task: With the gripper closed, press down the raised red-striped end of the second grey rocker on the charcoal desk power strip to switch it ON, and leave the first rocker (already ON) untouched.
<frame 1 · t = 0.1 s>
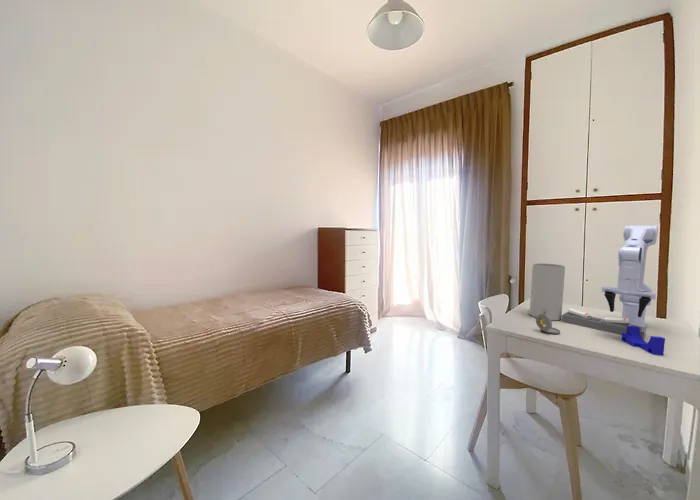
hand: (625, 313, 107), 10 cm above the table, tool pointing down, fingers open, 7 cm apart
cable clip: (640, 348, 101), on the table
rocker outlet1: (578, 313, 126), point 4 cm above the table, hinge at -10.0°
pocket watch: (547, 332, 115), on the table
cylinder vase: (544, 317, 135), on the table
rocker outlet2: (616, 321, 117), point 4 cm above the table, hinge at 10.0°
power strip: (601, 327, 121), on the table
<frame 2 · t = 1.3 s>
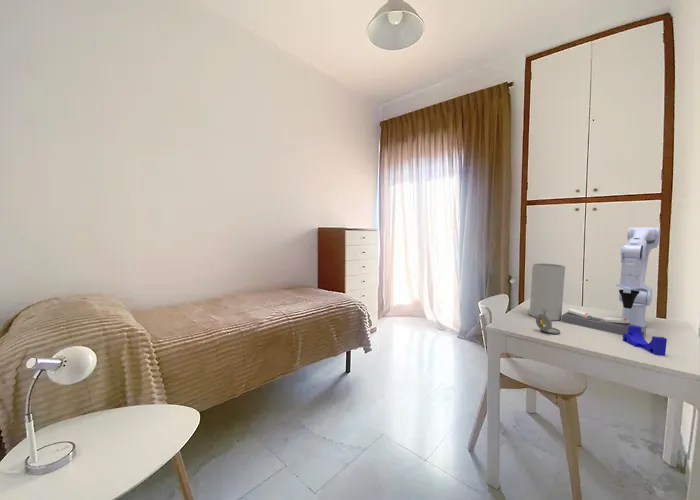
hand: (627, 308, 114), 10 cm above the table, tool pointing down, fingers closed
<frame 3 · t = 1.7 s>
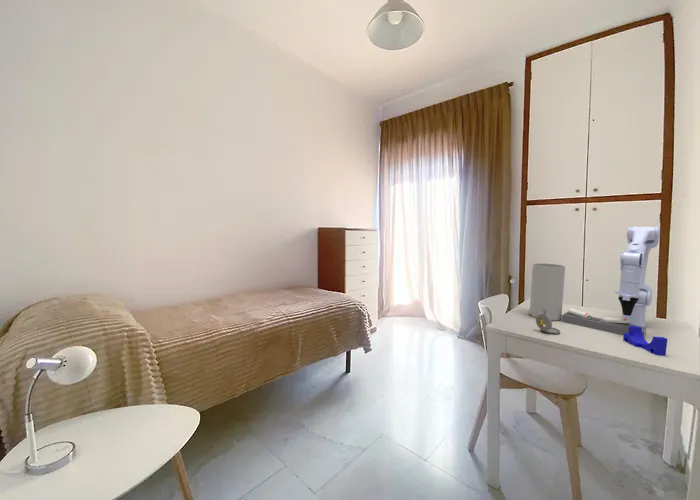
hand: (626, 315, 114), 7 cm above the table, tool pointing down, fingers closed
nothing on the table moved.
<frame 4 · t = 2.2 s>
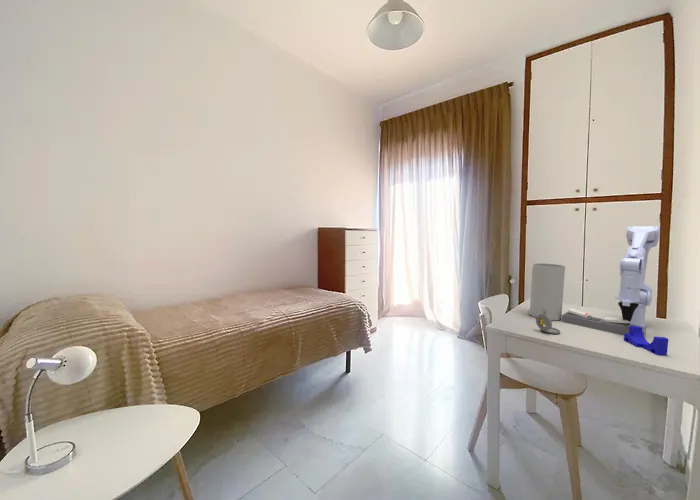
hand: (626, 320, 114), 5 cm above the table, tool pointing down, fingers closed, pressing on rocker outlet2
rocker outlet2: (616, 321, 117), point 4 cm above the table, hinge at 9.8°, touching gripper
everything else where it was.
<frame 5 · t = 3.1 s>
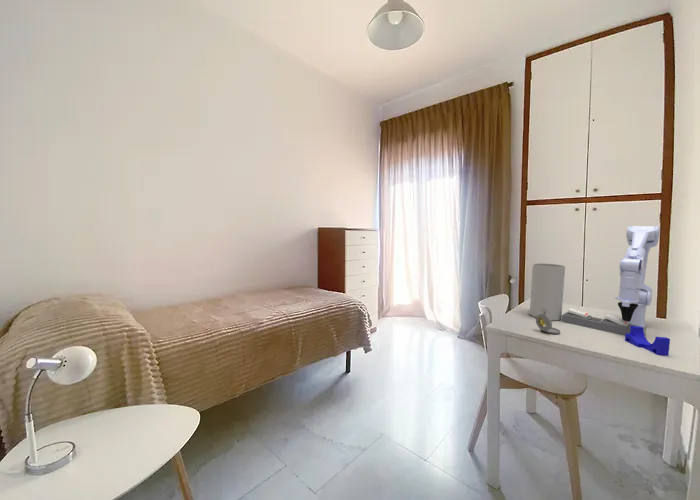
hand: (626, 320, 115), 5 cm above the table, tool pointing down, fingers closed
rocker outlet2: (616, 321, 117), point 4 cm above the table, hinge at -18.3°, touching power strip
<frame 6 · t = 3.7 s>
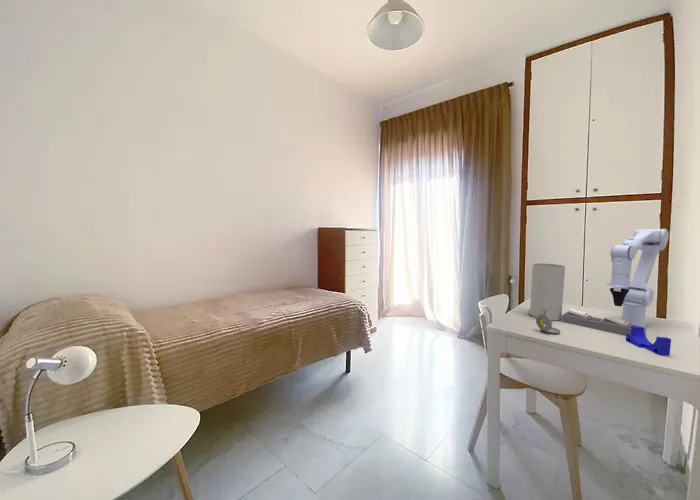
hand: (618, 305, 118), 10 cm above the table, tool pointing down, fingers closed
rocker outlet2: (616, 321, 117), point 4 cm above the table, hinge at -14.4°
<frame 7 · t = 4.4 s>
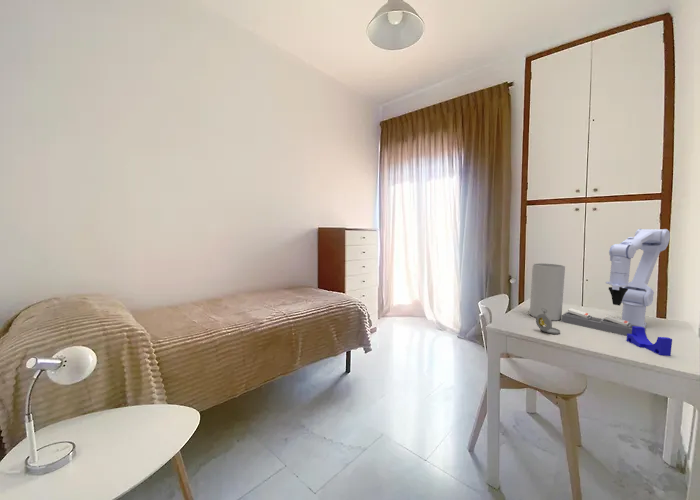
hand: (616, 304, 118), 10 cm above the table, tool pointing down, fingers closed
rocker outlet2: (616, 321, 117), point 4 cm above the table, hinge at -10.9°
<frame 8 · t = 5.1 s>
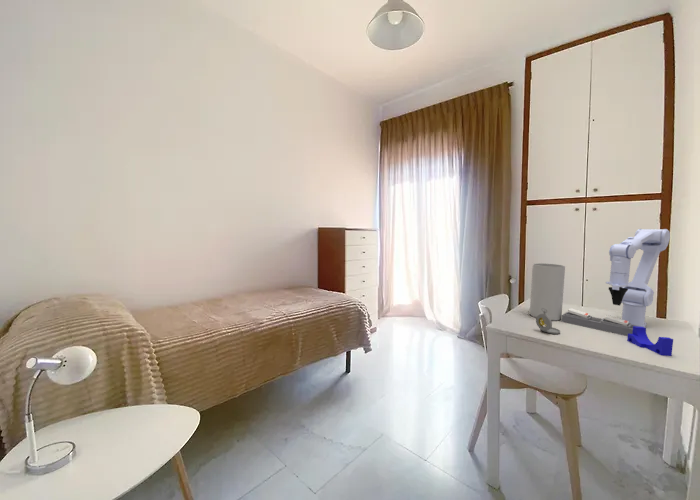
hand: (616, 304, 118), 10 cm above the table, tool pointing down, fingers closed
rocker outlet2: (616, 321, 117), point 4 cm above the table, hinge at -8.6°
at the end: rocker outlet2 at -8° (first picture: +10°); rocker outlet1 at -10° (first picture: -10°) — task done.
